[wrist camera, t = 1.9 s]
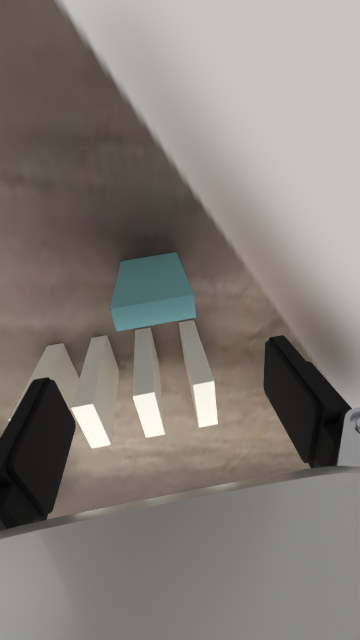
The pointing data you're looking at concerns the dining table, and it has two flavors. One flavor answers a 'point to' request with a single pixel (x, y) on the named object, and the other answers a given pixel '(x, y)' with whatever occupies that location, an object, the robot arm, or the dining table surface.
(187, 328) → the domino
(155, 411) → the domino
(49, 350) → the domino
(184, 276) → the domino
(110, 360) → the domino
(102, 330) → the dining table surface
